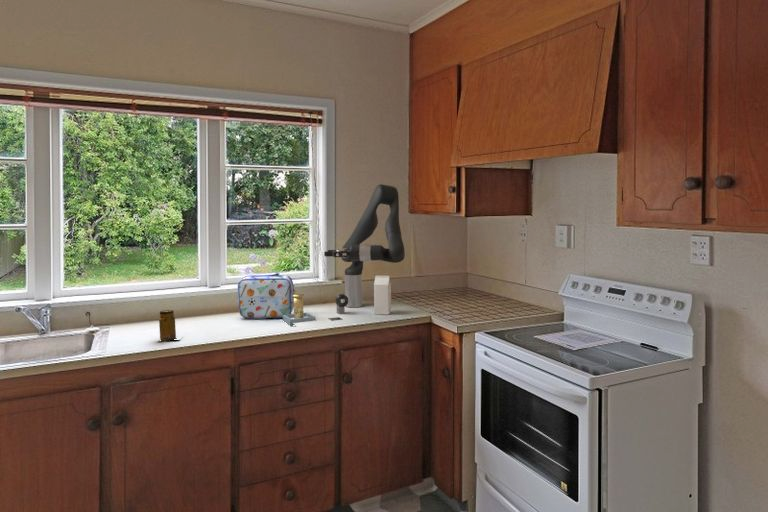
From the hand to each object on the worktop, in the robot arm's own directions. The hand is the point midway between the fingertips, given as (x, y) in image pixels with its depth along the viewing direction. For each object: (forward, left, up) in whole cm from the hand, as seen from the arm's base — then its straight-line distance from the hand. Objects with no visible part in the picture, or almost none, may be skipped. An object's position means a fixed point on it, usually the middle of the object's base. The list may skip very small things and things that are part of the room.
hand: (326, 253), depth 242 cm
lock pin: (-5, -12, -31) cm, 34 cm away
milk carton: (-4, +31, -32) cm, 45 cm away
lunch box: (-23, -22, -32) cm, 46 cm away
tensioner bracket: (-1, +6, -32) cm, 33 cm away
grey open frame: (-5, -12, -32) cm, 35 cm away
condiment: (0, -68, -32) cm, 76 cm away
